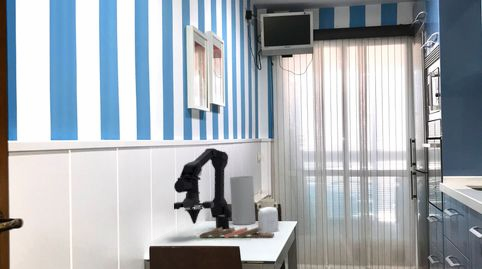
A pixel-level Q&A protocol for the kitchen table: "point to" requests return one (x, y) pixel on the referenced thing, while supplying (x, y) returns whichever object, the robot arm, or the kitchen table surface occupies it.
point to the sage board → (223, 238)
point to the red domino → (236, 232)
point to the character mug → (267, 203)
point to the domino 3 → (249, 232)
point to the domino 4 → (262, 235)
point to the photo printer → (268, 220)
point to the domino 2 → (223, 232)
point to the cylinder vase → (242, 200)
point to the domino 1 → (211, 232)
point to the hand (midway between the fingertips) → (194, 223)
